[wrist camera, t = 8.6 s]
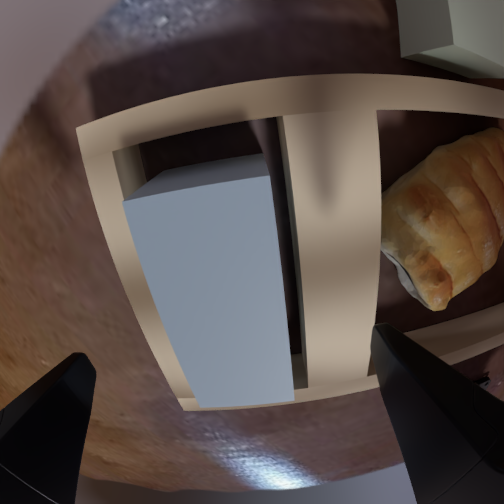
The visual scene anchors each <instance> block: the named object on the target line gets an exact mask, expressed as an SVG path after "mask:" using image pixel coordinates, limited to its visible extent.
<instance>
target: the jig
mask: <svg viewBox="0 0 504 504" xmlns="http://www.w3.org/2000/svg"><path fill="white" fill-rule="evenodd" d="M376 110H423V111H441V112H454V113H465V114H474V115H482V116H490V117H497V118H503V119H504V91H503V90H499V89H494V88H490V87H485V86H480V85H475V84H470V83H464V82H458V81H452V80H444V79H437V78H428V77H418V76H406V75H390V74H320V75H304V76H291V77H281V78H272V79H263V80H256V81H249V82H242V83H236V84H230V85H224V86H219V87H213V88H208V89H203V90H199V91H194V92H190V93H185V94H181V95H177V96H173V97H169V98H165V99H161V100H158V101H154V102H150V103H147V104H144V105H140V106H137V107H134V108H130V109H127V110H124V111H121V112H118V113H115V114H112V115H109V116H106V117H104V118H101V119H98V120H95V121H93V122H90V123H87V124H85V125H82V126H80V127H77V128H76V131H77V136H78V141H79V145H80V150H81V154H82V158H83V163H84V167H85V171H86V175H87V178H88V182H89V186H90V189H91V193H92V197H93V200H94V203H95V207H96V210H97V213H98V217H99V220H100V223H101V226H102V229H103V232H104V235H105V238H106V241H107V244H108V247H109V250H110V252H111V255H112V258H113V261H114V263H115V266H116V269H117V271H118V274H119V277H120V279H121V282H122V284H123V287H124V289H125V292H126V294H127V296H128V299H129V301H130V304H131V306H132V308H133V311H134V313H135V315H136V318H137V320H138V322H139V324H140V326H141V329H142V331H143V333H144V335H145V337H146V339H147V341H148V344H149V346H150V348H151V350H152V352H153V354H154V356H155V358H156V360H157V362H158V364H159V366H160V368H161V370H162V372H163V374H164V375H165V377H166V379H167V381H168V383H169V385H170V387H171V388H172V390H173V392H174V394H175V396H176V398H177V399H178V401H179V403H180V405H181V406H182V408H183V410H184V411H201V410H227V409H243V408H255V407H266V406H275V405H283V404H291V403H298V402H305V401H312V400H318V399H324V398H329V397H335V396H340V395H345V394H350V393H355V392H359V391H364V390H368V389H372V388H376V387H379V383H378V379H377V374H376V371H375V367H374V363H373V359H372V355H371V350H370V343H371V336H372V328H373V326H374V324H375V315H376V306H377V295H378V282H379V268H380V247H381V171H380V151H379V137H378V125H377V114H376ZM269 117H276V120H277V126H278V133H279V140H280V147H281V154H282V162H283V169H284V177H285V184H286V192H287V201H288V209H289V217H290V226H291V235H292V244H293V254H294V264H295V274H296V284H297V295H298V307H299V319H300V332H301V345H302V353H299V354H292V355H291V365H292V376H293V388H294V399H295V401H288V402H279V403H270V404H260V405H248V406H233V407H210V408H200V406H199V404H198V402H197V400H196V398H195V396H194V394H193V392H192V390H191V388H190V386H189V384H188V381H187V379H186V377H185V375H184V373H183V370H182V368H181V366H180V364H179V362H178V359H177V357H176V355H175V352H174V350H173V348H172V345H171V343H170V341H169V338H168V336H167V333H166V331H165V328H164V326H163V323H162V321H161V318H160V316H159V313H158V311H157V308H156V305H155V303H154V300H153V297H152V295H151V292H150V289H149V286H148V284H147V281H146V278H145V275H144V272H143V269H142V266H141V263H140V260H139V257H138V254H137V251H136V248H135V245H134V242H133V239H132V235H131V232H130V229H129V225H128V222H127V219H126V215H125V212H124V208H123V204H122V201H123V200H125V199H126V198H127V197H129V196H130V195H131V194H133V193H134V192H135V191H136V190H138V189H139V188H140V187H142V186H143V185H144V184H146V183H147V180H146V176H145V171H144V167H143V163H142V159H141V154H140V150H139V145H138V144H139V143H143V142H147V141H150V140H154V139H158V138H162V137H166V136H170V135H175V134H179V133H183V132H188V131H193V130H197V129H202V128H207V127H213V126H218V125H223V124H229V123H235V122H241V121H248V120H254V119H261V118H269ZM404 334H405V335H407V336H408V337H409V338H411V339H412V340H414V341H415V342H417V343H418V344H420V345H421V346H423V347H424V348H426V349H427V350H429V351H430V352H431V353H433V354H434V355H436V356H437V357H439V358H440V359H442V360H443V361H444V362H446V363H447V364H449V365H453V364H455V363H458V362H461V361H463V360H466V359H469V358H471V357H474V356H476V355H479V354H481V353H483V352H486V351H488V350H491V349H493V348H495V347H497V346H500V345H502V344H504V302H503V303H501V304H498V305H495V306H492V307H490V308H487V309H484V310H481V311H478V312H475V313H472V314H469V315H466V316H462V317H459V318H456V319H453V320H449V321H446V322H443V323H439V324H436V325H432V326H428V327H425V328H421V329H417V330H413V331H409V332H405V333H404Z"/></svg>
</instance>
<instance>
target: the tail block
mask: <svg viewBox="0 0 504 504" xmlns="http://www.w3.org/2000/svg"><path fill="white" fill-rule="evenodd" d="M396 5H397V13H398V23H399V35H400V50H401V58H404V59H409V60H413V61H417V62H420V63H424V64H428V65H431V66H434V67H438V68H441V69H444V70H447V71H450V72H453V73H456V74H459V75H462V76H465V77H468V78H504V0H396Z"/></svg>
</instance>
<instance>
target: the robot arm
mask: <svg viewBox="0 0 504 504" xmlns="http://www.w3.org/2000/svg"><path fill="white" fill-rule="evenodd" d="M370 350H371V355H372V359H373V363H374V367H375V371H376V374H377V379H378V383H379V387H380V391H381V395H382V398H383V401H384V404H385V406H386V409H387V412H388V415H389V417H390V420H391V423H392V426H393V429H394V432H395V435H396V437H397V440H398V443H399V446H400V449H401V452H402V455H403V458H404V462H405V465H406V468H407V471H408V474H409V477H410V480H411V484H412V487H413V491H414V494H415V498H416V501H417V504H504V401H502V400H500V399H498V398H497V397H495V396H494V395H492V394H491V393H489V392H488V391H486V389H487V387H488V385H489V383H490V382H491V380H490V378H489V377H486V378H484V379H482V380H480V381H478V382H475V383H473V381H472V380H470V379H469V378H467V377H466V376H465V375H463V374H462V373H460V372H459V371H457V370H456V369H455V368H453V367H452V366H450V365H449V364H447V363H446V362H444V361H443V360H442V359H440V358H439V357H437V356H436V355H434V354H433V353H431V352H430V351H429V350H427V349H426V348H424V347H423V346H421V345H420V344H418V343H417V342H415V341H414V340H412V339H411V338H409V337H408V336H407V335H405V334H404V333H402V332H401V331H399V330H398V329H396V328H395V327H393V326H392V325H390V324H389V323H386V322H385V323H380V324H376V325H374V326H373V328H372V336H371V343H370ZM95 382H96V370H95V368H94V367H93V365H92V363H91V362H90V360H89V359H88V357H87V356H86V354H84V353H80V352H75V353H72V354H71V355H70V356H68V357H67V358H66V359H65V360H63V361H62V362H61V363H59V364H58V365H57V366H56V367H54V368H53V369H52V370H51V371H49V372H48V373H47V374H45V375H44V376H43V377H42V378H40V379H39V380H38V381H37V382H35V383H34V384H33V385H32V386H30V387H29V388H28V389H27V390H25V391H24V392H23V393H22V394H20V395H19V396H18V397H17V398H15V399H14V400H13V401H12V402H11V403H9V404H8V405H7V406H6V407H5V408H3V409H2V410H1V411H0V504H75V497H76V490H77V483H78V477H79V470H80V465H81V459H82V453H83V448H84V443H85V438H86V433H87V429H88V424H89V420H90V415H91V409H92V402H93V395H94V388H95Z"/></svg>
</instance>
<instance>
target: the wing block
mask: <svg viewBox="0 0 504 504" xmlns="http://www.w3.org/2000/svg"><path fill="white" fill-rule="evenodd" d="M122 204H123V208H124V212H125V215H126V219H127V222H128V225H129V229H130V232H131V235H132V239H133V242H134V245H135V248H136V251H137V254H138V257H139V260H140V263H141V266H142V269H143V272H144V275H145V278H146V281H147V284H148V286H149V289H150V292H151V295H152V297H153V300H154V303H155V305H156V308H157V311H158V313H159V316H160V318H161V321H162V323H163V326H164V328H165V331H166V333H167V336H168V338H169V341H170V343H171V345H172V348H173V350H174V352H175V355H176V357H177V359H178V362H179V364H180V366H181V368H182V370H183V373H184V375H185V377H186V379H187V381H188V384H189V386H190V388H191V390H192V392H193V394H194V396H195V398H196V400H197V402H198V404H199V406H200V408H210V407H233V406H248V405H260V404H270V403H279V402H288V401H295V399H294V388H293V376H292V365H291V355H290V344H289V334H288V324H287V315H286V305H285V296H284V287H283V278H282V269H281V261H280V252H279V244H278V236H277V228H276V220H275V212H274V204H273V196H272V189H271V181H270V175H269V171H268V168H267V165H266V161H265V158H264V155H263V153H261V154H254V155H247V156H240V157H234V158H227V159H221V160H215V161H210V162H204V163H199V164H193V165H188V166H183V167H178V168H173V169H168V170H164V171H162V172H161V173H160V174H158V175H157V176H155V177H154V178H153V179H151V180H150V181H149V182H147V183H146V184H144V185H143V186H142V187H140V188H139V189H138V190H136V191H135V192H134V193H133V194H131V195H130V196H129V197H127V198H126V199H125V200H123V201H122Z"/></svg>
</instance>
